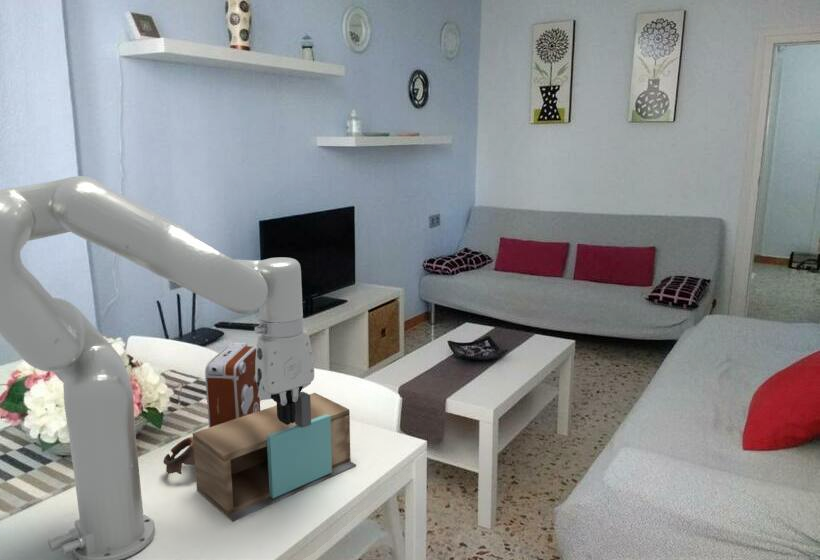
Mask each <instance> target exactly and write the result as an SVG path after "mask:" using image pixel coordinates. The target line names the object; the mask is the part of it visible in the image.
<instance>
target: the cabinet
mask: <svg viewBox="0 0 820 560" xmlns="http://www.w3.org/2000/svg"><path fill="white" fill-rule="evenodd" d="M308 394H309V393H308ZM309 395H310V403H311V419H314V418H317V417H320V416H322V415H325V414H328V415H330V418H331V458H332V472H331V473H329V474H327V475H325V476H322V477H320V478H318V479H316V480H313V481H311V482H309V483H307V484H304V485H302V486H300V487H298V488H295V489H293V490H291V491H289V492H286V493H284V494H282V495H280V496H277V497H275V498H272V497H271V496H270V493H269V473H268V453H267V435H270V434H273V433H276V432H278V431H281V430H284V429H287V428H289V427H292V426H295V425H297V424H295V422H294V423H290V424H289V425H286V424H284V423H283V422H281V421H279V419H278V417H277V404H275V405H273V406H270V407H267V408H264V409H260V411H258V412H255V413H252V414H249V415H246V416H243V417H240V418H237V419H234V420H231V421H228V422H225V423H222V424H219V425H215V426H212V427H209V426H208V428H207V427H206V428H204V429H201V430H198V431H194V432H192V437H193V446H194V459H195V465H194V470H195V482H196V492H198V493H199V494H200V495H201V496H202V497H204V498H205V499H206V500H207V501H208V502H210V503H211V505H213V506H214V507H215V508H216V509H217V510H219V512H221V513H222V514H223V515H225V516H226V517H227V518H228V519H229V520H230V521H232V522H235V521H237V520H240V519H241V518H244V517H246V516H247V515H250V514H253V513H255V512H257V511H259V510H262V509H264V508H266V507H268V506H271V505H274V504H275V503H277V502H279V501H281V500H284V499H286V498H288V497H290V496H293V495H295V494H298V493H299V492H300V493H301V492H302V491H304V490H306V489H308V488H311V487H313V486H315V485H317V484H320V483H322V482H324V481H326V480H328V479H330V478H333V477H335V476H337V475H339V474H342V473H344V472H346V471H348V470H351V469H353V468H355V467H357V464H356V463H354V462H352V460H351V423H350V421H351V418H350V415H351V414H350V409H349V408H347V407H346V406H344V405H341V404H339V403H337V402H335V401H333V400H331V399H329V398H327V397H324V396H323V395H320V394H318V393H316V392H313V393H310V394H309Z"/></svg>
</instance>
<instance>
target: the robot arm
mask: <svg viewBox="0 0 820 560" xmlns="http://www.w3.org/2000/svg"><path fill="white" fill-rule="evenodd" d="M67 233H72V234H73V235H76V236H77V237H80V238H82V239H84V240H86V241H88V242H90V243H92V244H94V245H96V246H98V247H101V248H103V249H105V250H107V251H109V252H111V253H113V254H116V255H117V256H120V257H122V258H125V260H127V261H130V262H132V263H134V264H136V265H138V266H140V267H142V268H143V269H146V270H148V271H150V272H152V274H155V275H157V276H159V277H161V278H163V279H165V280H167V281H170V282H172V283H175V284H177V286H180V287H182V288H184V289H186V290H187V291H190V292H192V293H194V294H195V295H197V296H199V297H201V298H203V299H205V300H208V301H209V302H212V303H214V304H215V305H218V306H220V307H222V308H223V309H224V308H225V309H227V310H229V311H231V312H234V313H236V314H240V315H241V314H242V315H244V314H245V315H246V314H251V313H253V312H254V313H255V312H256V311H258V310H259V324H258V325H257V326H255V327H254V332H255V334H256V335H259V334H260V335H259V336H258V337H257V342H256V347H255V348H256V360H255V375H256V384H257V387H258V388H259V391H258V397H259V398H260V400H263V401H264V400H265V401H266V400H273V402H275V403H276V405H277V417H278V419H279V421H281V422H283V423H284V424H286V425H289V424H290V423H294V422H295V415H296V410H295V402H296V401H297V400H298V395H299V393H300V392H302V391H303V389H304V388H307V387H308V386H310V385H311V384H312V382H313V381H314V379H315V365H314V355H313V349H312V344H311V339H310V335H309V333H308V330H306V329H304V317H303V316H304V313H303V309H304V308H303V287H302V269H301V268H302V267H301V264H300V262H299V261H298V260H297V259H295V258H292V257H282V256H281V257H270V258H266V259H262V260H261V259H257V260H255V259H254V260H253V259H234V258H232V257H230V256H227V255H225V254H224V253H222V252H221V251H218V250H217V249H215V248H213V247H212V246H210V245H208V244H206V243H205V242H203V241H201V240H200V239H198V238H197V237H196V236H194V235H192V234H191V233H190V232H189V231H188V230H187V229H185V228H184V227H182V226H181V225H179V224H177V223H175V222H174V221H172V220H170V219H168V218H166V217H164V216H162V215H161V214H158V213H157V212H155V211H153V210H151V209H149V208H148V207H145V206H144V205H141V204H140V203H138V202H136V201H135V200H132V199H130V198H128V197H127V196H125V195H123V194H121V193H119V192H117V191H115V190H113V189H111V188H110V187H108V186H106V185H104V184H103V183H101V182H100V181H98V180H97V179H95V178H93V177H89V176H85V175H84V176H83V175H79V176H78V175H76V176H70V177H66V178H61V179H56V180H51V181H45V182H41V183H35V184H29V185H23V186H17V187H11V188H5V189H1V190H0V336H1V337H2V339H4V340H5V341H6V342H7V344H9V345H10V346H11V347H12V348H13V349H14V351H15V352H16V353H17V355H19V356H20V357H21V359H22V360H23V361H25V363H27V364H28V365H30V366H31V367H32V368H34V369H37V370H39V371H42V372H47V373H48V372H50V373H53V374H54V375H55V376H56V377H57V378H58V379H59V380H60V381H61V382H62V384H63V387H62V388H63V402H64V403H63V404H64V412H65V419H66V425H67V430H68V439H69V446H70V456H71V461H72V463H71V464H72V468H73V477H74V478H73V479H74V484H75V485H74V486H75V492H76V494H75V495H76V499H77V500H76V501H77V507H78V510H77V511H78V518H79V519H76V520H75V521H74V528H71V529H70V528H69V530H68V531H69V532H66V533H63V534H60V535H58V536H55V537H51V538H49V539H48V540H47V543H48V548H49V550H50V552H55V551H57V550H59V549H61V550H62V551H61V552H62V553H63V555H65V554H67V553H70V552H72V553H73V555H74V557H75V558H76V559H78V560H123V559H127V558H128V557H131V556H133V555H135V554H137V553H139V552H140V551H142V550H143V549H144V548H145V547H147V546H148V545H149V543H151V542H152V540H153V539H154V536H155V534H156V528H155V527H156V526H155V522H154V520H153V519H152V518H151V517H149V516H147V515H146V514H144V507H143V500H142V499H143V498H142V488H141V476H140V469H139V468H140V467H139V457H138V448H137V437H136V436H137V435H136V426H135V425H136V424H135V404H134V402H135V401H134V392H133V387H132V382H131V379H130V375H129V372H128V370H127V368H126V364H125V362H124V360H123V358H122V356H121V355H120V354H119V353H118V352H117V350H116V349H115V348H114V346H112V345H111V344H110V342H109V341H108V340H107V339H106V338H105V337H104V335H102V333H101V332H100V331H99V330H98V329H97V328H96V327H95V326H94V325H93V323H92V322H91V321H90V320H89V318H87V316H86V315H85V314H84V313H83V312H82V311H81V310H80V309H79V308H78V307H77V306H76V305H74V304H73V303H71V302H70V301H67V300H66V299H62V298H59V297H53V296H52V295H51V293H49V292H48V290H47V289H45V288H44V286H43V285H42V284H41V282H40V281H39V279H37V278H36V277H35V276H34V275H33V274H32V273H31V271H29V270H28V269H27V268H26V266H25V265H24V264H23V262H22V260H21V251H22V249H23V248H24V246H25V245H26V244H27V243H28V242H31V241H34V240H39V239H44V238H48V237H49V238H50V237H53V236H58V235H62V234H67Z"/></svg>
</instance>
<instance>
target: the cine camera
mask: <svg viewBox="0 0 820 560" xmlns="http://www.w3.org/2000/svg"><path fill="white" fill-rule="evenodd" d="M256 348H257V347H255V346H248V343H247V342H232V343H231V344H230V345H228V346H226V347H224V348H223V349H222V350H221V351H220V352H219V353H218V354H216V355H215V356H214V357H213V358H212V359H210V361H208V362H207V364H206V366H205V371H204V372H205V373H204V375H205V388H206V389H205V390H206V404H207V418H208V419H207V421H208V428H209V427H212V426H215V425H219V424H222V423H225V422H228V421H231V420H234V419H237V418H240V417H243V416H246V415H249V414H252V413H255V412H258V411H261V399H260V398H259V397H258V391H259V388H258V387H257V384H256V375H255V360H256Z"/></svg>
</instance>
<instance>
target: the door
mask: <svg viewBox="0 0 820 560" xmlns="http://www.w3.org/2000/svg"><path fill="white" fill-rule="evenodd" d="M295 410H296V415H295V424H297V425H295V426H292V427H289V428H287V429H284V430H281V431H278V432H276V433H273V434H270V435H267V453H268V473H269V493H270V496H271V497H272V498H275V497H277V496H280V495H282V494H284V493H286V492H289V491H291V490H293V489H295V488H298V487H300V486H302V485H304V484H307V483H309V482H311V481H313V480H316V479H318V478H320V477H322V476H325V475H327V474H329V473H331V472H332V458H331V418H330V415H328V414H325V415H322V416H320V417H317V418H314V419H311V403H310V395H309V393H308V392H305V391H301V392H300V393H299V395H298V400H297V401H296V402H295Z"/></svg>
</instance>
